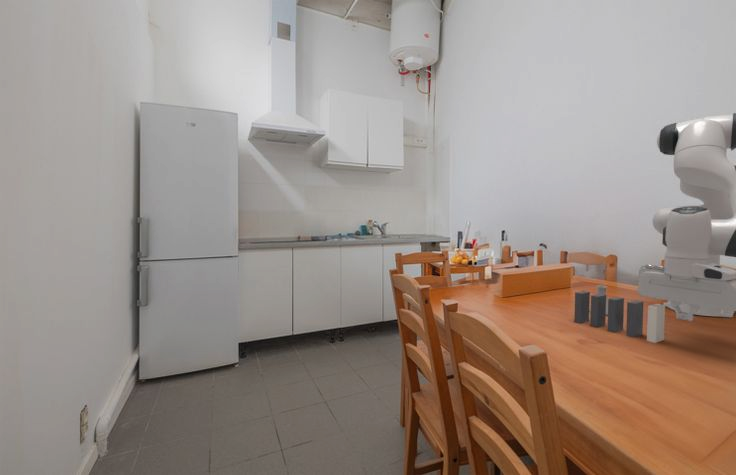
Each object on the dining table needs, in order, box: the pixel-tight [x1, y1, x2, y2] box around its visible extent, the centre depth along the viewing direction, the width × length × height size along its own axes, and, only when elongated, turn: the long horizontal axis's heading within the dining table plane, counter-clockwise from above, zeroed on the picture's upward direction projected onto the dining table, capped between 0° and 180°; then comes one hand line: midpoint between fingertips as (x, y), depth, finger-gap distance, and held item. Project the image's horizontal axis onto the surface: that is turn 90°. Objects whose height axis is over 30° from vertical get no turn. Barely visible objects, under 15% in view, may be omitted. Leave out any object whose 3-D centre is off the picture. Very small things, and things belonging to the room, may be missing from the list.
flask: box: [589, 285, 609, 316], centre depth 120 cm, size 7×7×10 cm
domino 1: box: [573, 290, 591, 324], centre depth 111 cm, size 2×5×10 cm, turn 118°
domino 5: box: [646, 303, 666, 344], centre depth 93 cm, size 2×5×10 cm, turn 118°
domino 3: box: [606, 296, 625, 333], centre depth 102 cm, size 2×5×10 cm, turn 118°
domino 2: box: [589, 293, 607, 329], centre depth 106 cm, size 2×5×10 cm, turn 118°
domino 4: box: [625, 299, 644, 338], centre depth 98 cm, size 2×5×10 cm, turn 118°
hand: (684, 319), depth 88 cm, fingers closed
